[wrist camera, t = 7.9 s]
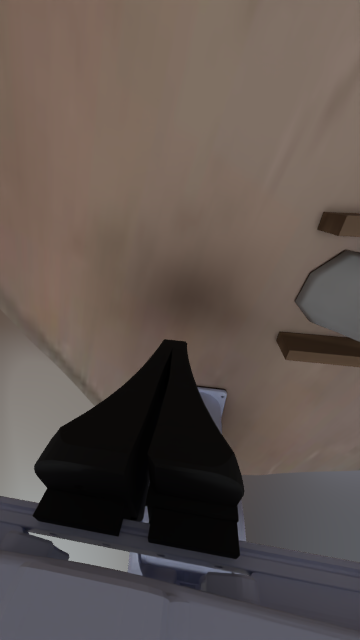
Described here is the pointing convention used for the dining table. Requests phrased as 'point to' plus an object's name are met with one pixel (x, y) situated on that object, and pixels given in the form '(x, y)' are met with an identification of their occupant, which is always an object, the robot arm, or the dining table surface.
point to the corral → (318, 345)
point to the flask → (334, 295)
